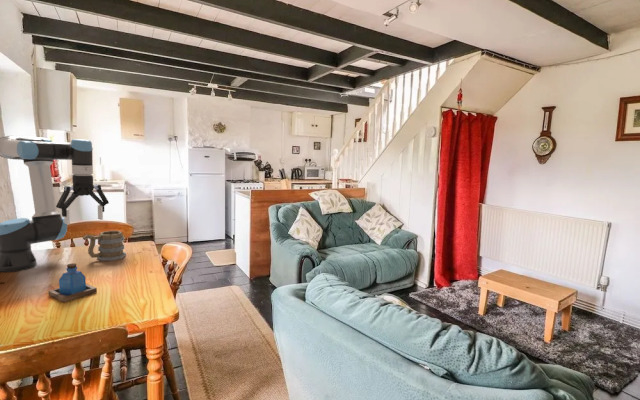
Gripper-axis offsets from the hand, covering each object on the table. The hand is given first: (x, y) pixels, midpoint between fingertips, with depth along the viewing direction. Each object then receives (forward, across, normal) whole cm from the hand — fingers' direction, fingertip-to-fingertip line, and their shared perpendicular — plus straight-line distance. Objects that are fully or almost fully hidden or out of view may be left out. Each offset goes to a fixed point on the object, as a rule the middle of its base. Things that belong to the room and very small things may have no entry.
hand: (84, 221), depth 150 cm
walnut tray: (+27, -12, -14) cm, 32 cm away
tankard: (+28, +19, +22) cm, 40 cm away
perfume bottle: (+26, -12, -14) cm, 32 cm away
